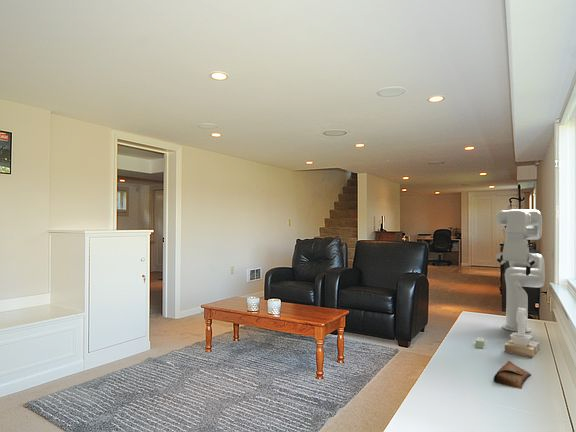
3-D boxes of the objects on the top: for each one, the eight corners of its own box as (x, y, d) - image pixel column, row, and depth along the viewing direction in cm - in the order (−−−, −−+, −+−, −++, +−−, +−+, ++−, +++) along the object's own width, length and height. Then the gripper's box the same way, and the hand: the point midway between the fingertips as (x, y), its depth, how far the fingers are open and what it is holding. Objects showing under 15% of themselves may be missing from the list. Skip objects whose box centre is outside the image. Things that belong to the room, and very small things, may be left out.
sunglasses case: (522, 389, 127) (511, 368, 130) (501, 395, 131) (490, 375, 133) (532, 374, 141) (521, 355, 143) (512, 380, 145) (502, 361, 147)
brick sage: (476, 344, 177) (476, 337, 177) (484, 345, 176) (484, 338, 176) (475, 347, 172) (475, 340, 172) (483, 348, 170) (483, 341, 171)
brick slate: (521, 347, 174) (521, 340, 174) (525, 346, 175) (525, 339, 175) (536, 351, 169) (537, 344, 169) (540, 350, 171) (540, 343, 171)
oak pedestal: (510, 346, 174) (511, 339, 174) (537, 351, 168) (537, 344, 168) (504, 351, 166) (504, 344, 166) (532, 357, 160) (532, 350, 160)
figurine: (533, 343, 169) (533, 307, 169) (529, 348, 161) (529, 311, 162) (513, 340, 173) (514, 305, 174) (509, 344, 166) (509, 308, 166)
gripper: (539, 237, 182) (538, 275, 182) (497, 236, 193) (497, 271, 193) (536, 237, 176) (535, 276, 176) (493, 236, 188) (492, 272, 187)
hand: (515, 274), depth 184 cm, fingers open, 9 cm apart
